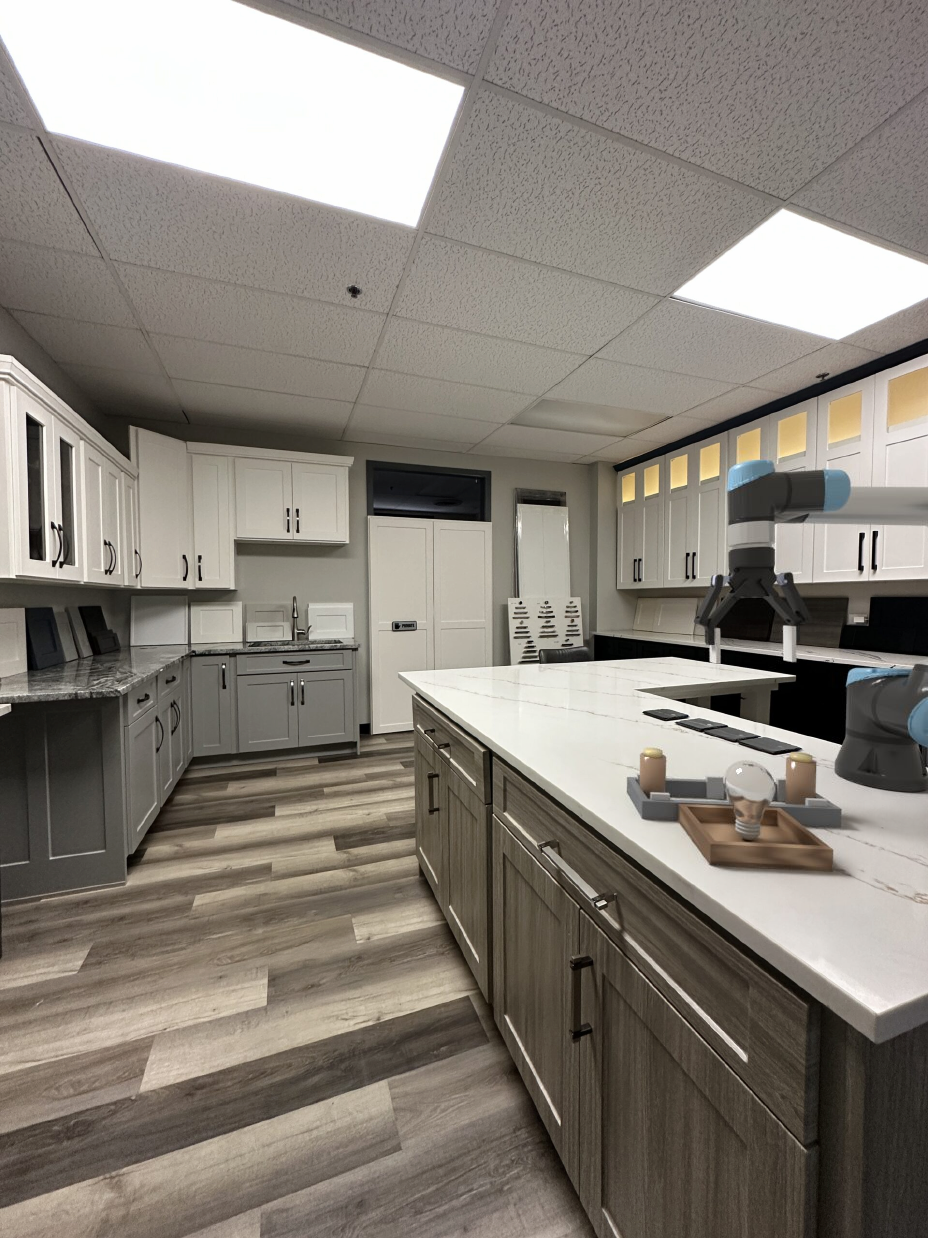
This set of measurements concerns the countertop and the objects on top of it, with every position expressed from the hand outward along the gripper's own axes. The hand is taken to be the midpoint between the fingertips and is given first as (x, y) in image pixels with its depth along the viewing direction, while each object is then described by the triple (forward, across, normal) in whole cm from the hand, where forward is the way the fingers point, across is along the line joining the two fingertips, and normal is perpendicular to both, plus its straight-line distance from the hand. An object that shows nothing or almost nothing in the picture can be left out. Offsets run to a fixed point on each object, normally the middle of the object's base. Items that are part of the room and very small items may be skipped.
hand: (752, 662), depth 95 cm
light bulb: (+25, +11, +19) cm, 33 cm away
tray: (+25, +11, +19) cm, 33 cm away
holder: (+25, +8, +6) cm, 27 cm away
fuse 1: (+25, +20, +5) cm, 32 cm away
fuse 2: (+26, -4, +6) cm, 27 cm away
